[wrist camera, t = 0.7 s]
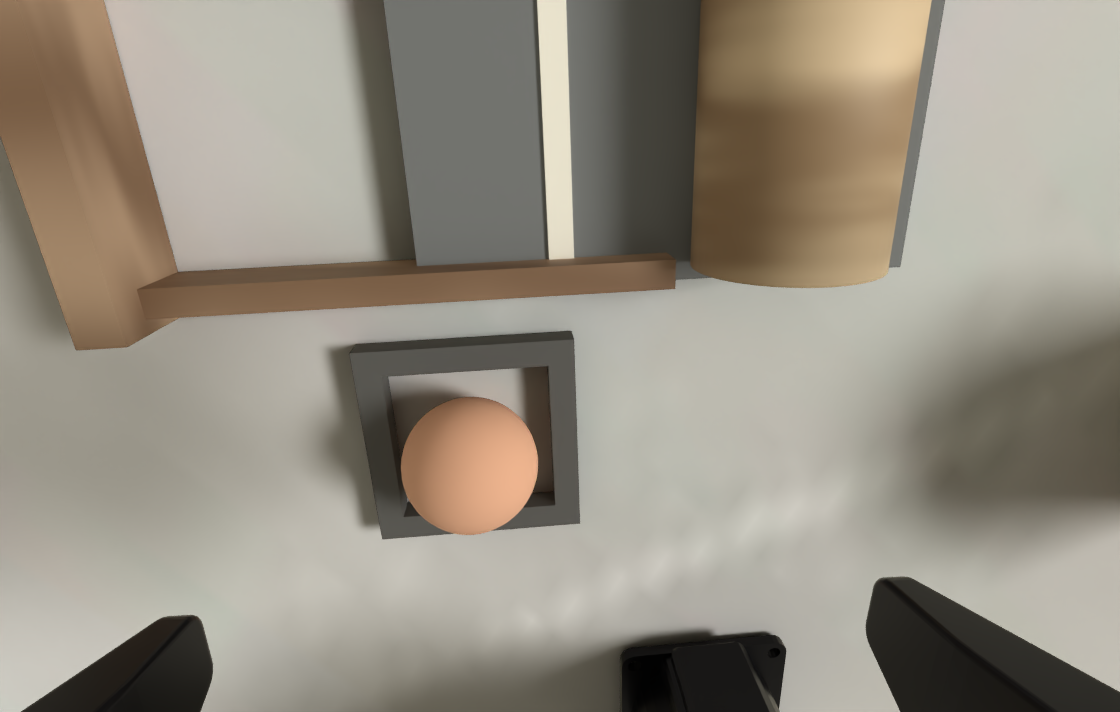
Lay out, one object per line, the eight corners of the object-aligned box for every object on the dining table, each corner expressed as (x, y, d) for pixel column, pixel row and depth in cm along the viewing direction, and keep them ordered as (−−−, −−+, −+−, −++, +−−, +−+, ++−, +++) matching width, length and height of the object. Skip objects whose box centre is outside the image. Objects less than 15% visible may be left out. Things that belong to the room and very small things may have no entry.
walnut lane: (657, 285, 18) (684, 313, 15) (146, 314, 17) (75, 350, 14) (666, -153, 14) (704, -222, 11) (8, -143, 13) (-124, -215, 11)
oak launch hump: (827, 243, 19) (933, 280, 14) (670, 252, 18) (724, 293, 14) (869, -104, 15) (1026, -206, 11) (680, -100, 15) (756, -203, 10)
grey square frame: (577, 509, 21) (580, 523, 20) (387, 524, 20) (382, 539, 20) (571, 330, 18) (573, 339, 18) (355, 344, 18) (349, 353, 17)
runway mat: (880, 260, 18) (902, 267, 17) (425, 285, 18) (420, 295, 17) (941, -136, 15) (974, -157, 14) (374, -127, 14) (363, -147, 13)
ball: (538, 480, 20) (544, 558, 17) (420, 489, 20) (399, 570, 16) (532, 372, 19) (537, 431, 15) (404, 380, 19) (378, 443, 15)
